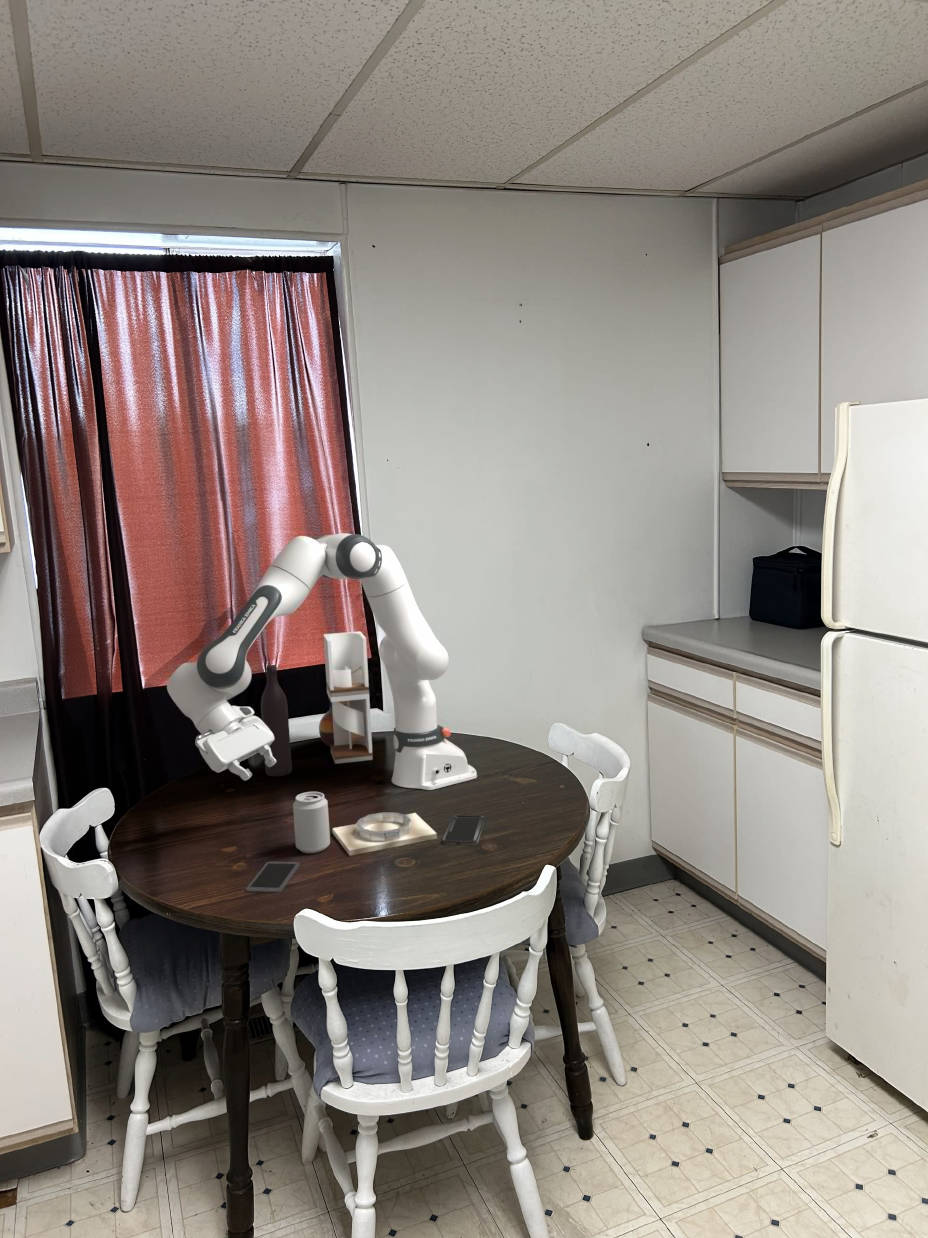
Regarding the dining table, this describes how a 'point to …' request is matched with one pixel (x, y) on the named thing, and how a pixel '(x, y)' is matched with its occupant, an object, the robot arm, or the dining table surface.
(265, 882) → the cell phone
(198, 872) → the dining table surface
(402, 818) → the ring collar
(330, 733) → the vase
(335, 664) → the display case
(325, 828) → the can
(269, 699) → the wine bottle
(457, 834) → the phone
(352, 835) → the seat board
